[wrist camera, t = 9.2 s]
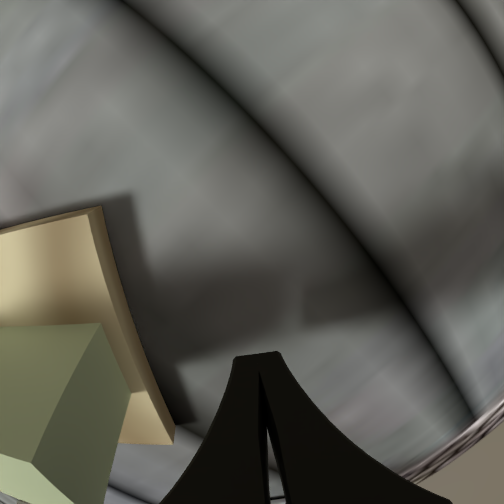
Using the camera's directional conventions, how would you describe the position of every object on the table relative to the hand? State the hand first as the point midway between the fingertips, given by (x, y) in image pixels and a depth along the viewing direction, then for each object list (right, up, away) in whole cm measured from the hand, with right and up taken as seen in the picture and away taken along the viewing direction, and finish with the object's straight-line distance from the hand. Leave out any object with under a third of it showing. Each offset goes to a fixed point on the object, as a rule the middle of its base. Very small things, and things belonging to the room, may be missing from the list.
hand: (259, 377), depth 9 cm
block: (-9, -1, +1) cm, 9 cm away
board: (-13, -1, +2) cm, 13 cm away
